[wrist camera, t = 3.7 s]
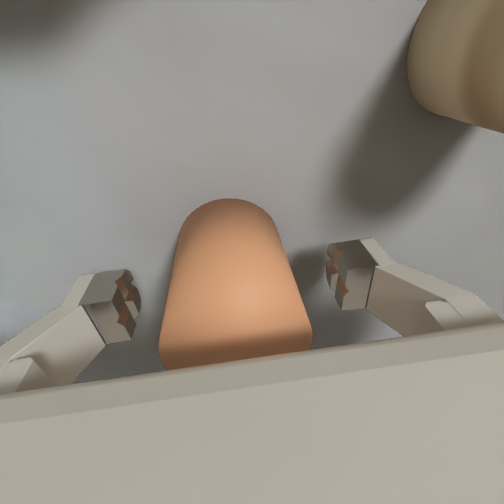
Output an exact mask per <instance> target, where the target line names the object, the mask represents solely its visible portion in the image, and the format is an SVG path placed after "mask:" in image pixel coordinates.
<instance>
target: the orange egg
mask: <svg viewBox="0 0 504 504" xmlns="http://www.w3.org/2000/svg"><path fill="white" fill-rule="evenodd" d="M312 341H313V332H312V327H311V324H310V321H309V319H308V316H307V313H306V310H305V307H304V304H303V302H302V299H301V296H300V293H299V290H298V287H297V285H296V282H295V279H294V276H293V273H292V270H291V268H290V265H289V262H288V259H287V256H286V253H285V251H284V248H283V245H282V242H281V239H280V236H279V234H278V231H277V228H276V226H275V223H274V221H273V220H272V218H271V217H270V216H269V215H268V214H267V212H265V211H264V210H263V209H262V208H260V207H259V206H257V205H255V204H253V203H251V202H248V201H245V200H240V199H220V200H215V201H211V202H208V203H206V204H204V205H202V206H200V207H199V208H197V209H196V210H195V211H193V212H192V213H191V214H190V215H189V216H188V217H187V219H186V220H185V222H184V223H183V225H182V227H181V230H180V234H179V239H178V244H177V249H176V254H175V260H174V265H173V270H172V276H171V281H170V286H169V291H168V297H167V302H166V307H165V312H164V318H163V323H162V328H161V333H160V339H159V346H158V349H159V356H160V359H161V361H162V363H163V365H164V366H165V368H166V369H167V370H174V369H181V368H188V367H195V366H202V365H208V364H215V363H222V362H229V361H236V360H243V359H250V358H257V357H264V356H271V355H278V354H285V353H292V352H299V351H306V350H310V349H311V346H312Z"/></svg>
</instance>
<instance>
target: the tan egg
mask: <svg viewBox="0 0 504 504" xmlns="http://www.w3.org/2000/svg"><path fill="white" fill-rule="evenodd" d="M407 78H408V83H409V87H410V90H411V92H412V94H413V96H414V98H415V100H416V101H417V102H418V103H419V104H420V106H422V107H423V108H424V109H425V110H427V111H429V112H431V113H434V114H437V115H441V116H444V117H448V118H451V119H455V120H458V121H462V122H465V123H469V124H472V125H476V126H479V127H483V128H487V129H490V130H494V131H497V132H501V133H504V0H428V1H427V2H426V4H425V6H424V8H423V10H422V12H421V13H420V16H419V18H418V20H417V22H416V25H415V27H414V30H413V33H412V36H411V40H410V44H409V48H408V55H407Z"/></svg>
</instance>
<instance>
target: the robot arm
mask: <svg viewBox="0 0 504 504" xmlns="http://www.w3.org/2000/svg"><path fill="white" fill-rule="evenodd" d="M327 254H328V256H329V258H330V259H329V260H328V262H327V263H326V278H327V281H328V284H329V286H330V288H331V289H333V290H334V291H335V299H336V301H337V303H338V305H339V306H340V308H341V310H342V311H345V310H354V309H363V308H366V310H368V311H369V312H370V313H372V314H373V315H375V316H376V317H377V318H379V319H380V320H382V321H383V322H384V323H386V324H387V325H388V326H390V327H391V328H393V329H394V330H395V331H397V332H398V333H399V334H401V335H402V336H404V337H397V338H390V339H383V340H376V341H369V342H362V343H355V344H348V345H341V346H334V347H327V348H320V349H313V350H306V351H299V352H292V353H285V354H278V355H271V356H264V357H257V358H250V359H243V360H236V361H229V362H222V363H215V364H208V365H202V366H195V367H188V368H181V369H174V370H167V371H160V372H153V373H146V374H139V375H132V376H125V377H118V378H111V379H104V380H97V381H90V382H83V383H76V384H72V383H73V382H74V380H75V379H76V378H77V377H78V376H79V375H80V374H81V373H82V371H83V370H84V369H85V368H86V367H87V366H88V365H89V364H90V363H91V361H92V360H93V359H94V358H95V357H96V356H97V355H98V354H99V352H100V351H101V350H102V349H103V348H104V347H105V346H106V345H105V344H110V343H116V342H122V341H128V340H132V336H133V333H134V329H135V326H136V323H135V321H134V318H135V317H136V316H138V315H139V312H140V308H141V299H140V294H139V291H138V289H137V288H136V287H135V286H133V285H132V284H131V283H132V280H133V277H132V275H131V273H130V271H129V270H127V269H125V270H115V271H106V272H98V273H89V274H83V275H80V276H79V277H78V279H77V281H76V282H75V284H74V285H73V287H72V289H71V290H70V292H69V294H68V295H67V297H66V298H65V300H64V302H63V303H62V305H61V307H60V308H58V309H54V310H52V311H51V312H49V313H48V314H47V315H45V316H44V317H42V318H41V319H39V320H38V321H36V322H35V323H33V324H32V325H31V326H29V327H28V328H26V329H25V330H23V331H22V332H20V333H19V334H18V335H16V336H15V337H13V338H12V339H10V340H9V341H7V342H6V343H5V344H3V345H2V346H0V504H504V321H503V320H502V319H501V318H500V317H499V316H498V315H497V314H496V313H495V312H494V311H493V310H492V309H491V308H489V307H488V306H487V305H486V304H485V303H484V302H483V301H482V300H481V299H480V298H479V297H478V296H477V295H475V294H473V293H471V292H468V291H466V290H463V289H461V288H459V287H456V286H454V285H451V284H449V283H446V282H444V281H442V280H439V279H437V278H434V277H432V276H430V275H427V274H425V273H422V272H420V271H418V270H415V269H413V268H410V267H408V266H406V265H403V264H401V263H397V264H395V263H394V261H393V260H392V259H391V258H390V257H389V256H388V254H387V253H386V252H385V251H384V250H383V249H382V248H381V246H380V245H379V244H378V243H377V242H376V241H375V239H374V238H371V237H368V238H362V239H357V240H351V241H344V242H337V243H330V244H329V245H328V247H327Z"/></svg>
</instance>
